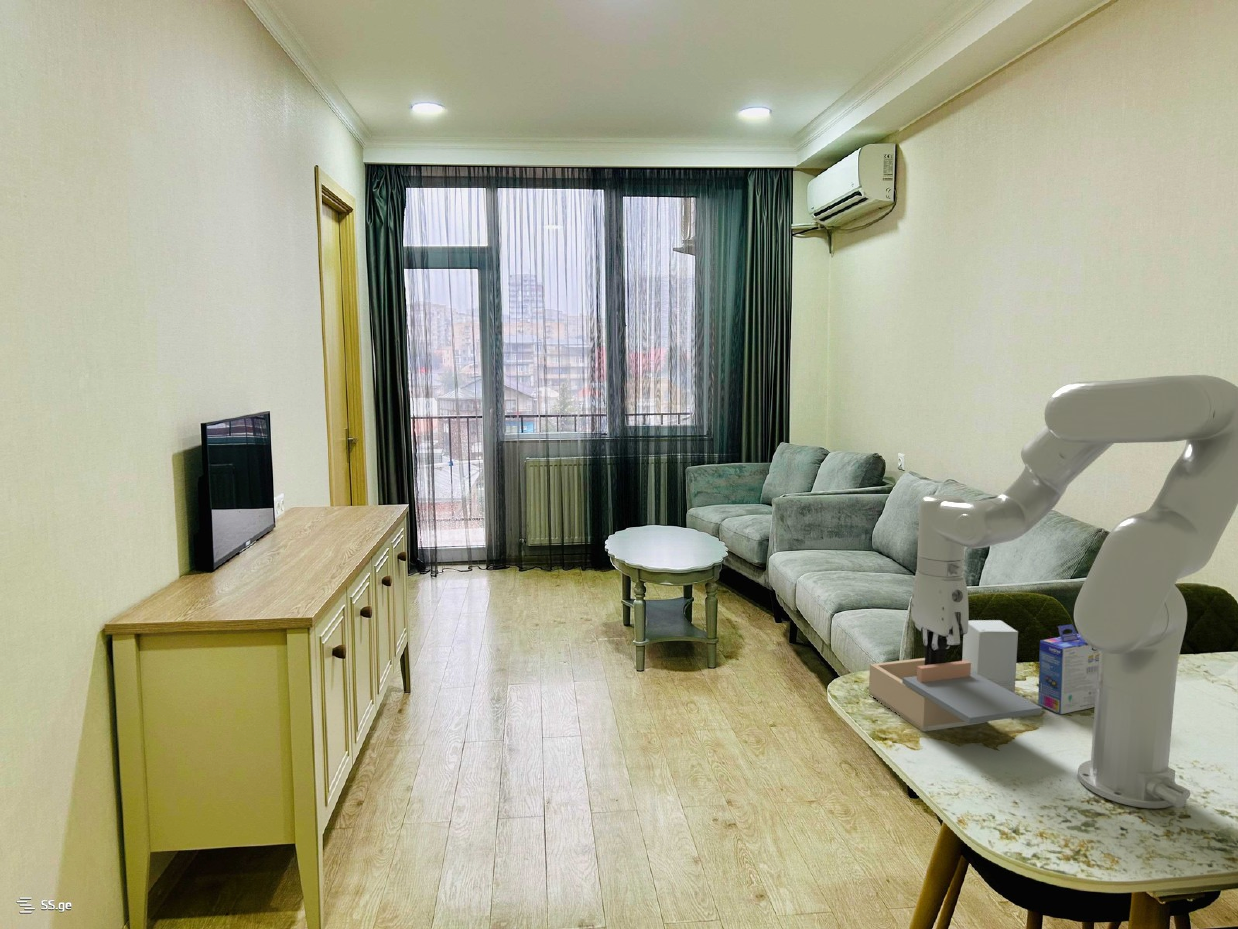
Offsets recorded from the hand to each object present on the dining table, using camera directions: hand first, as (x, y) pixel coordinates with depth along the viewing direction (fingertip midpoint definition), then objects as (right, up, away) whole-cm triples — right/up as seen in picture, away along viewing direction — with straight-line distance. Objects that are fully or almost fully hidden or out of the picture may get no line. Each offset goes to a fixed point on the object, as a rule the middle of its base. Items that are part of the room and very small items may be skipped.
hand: (935, 668), depth 145 cm
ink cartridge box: (+26, -8, +4) cm, 27 cm away
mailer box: (-1, -8, +3) cm, 8 cm away
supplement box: (+14, -7, +11) cm, 19 cm away
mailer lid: (+3, -3, -8) cm, 9 cm away
